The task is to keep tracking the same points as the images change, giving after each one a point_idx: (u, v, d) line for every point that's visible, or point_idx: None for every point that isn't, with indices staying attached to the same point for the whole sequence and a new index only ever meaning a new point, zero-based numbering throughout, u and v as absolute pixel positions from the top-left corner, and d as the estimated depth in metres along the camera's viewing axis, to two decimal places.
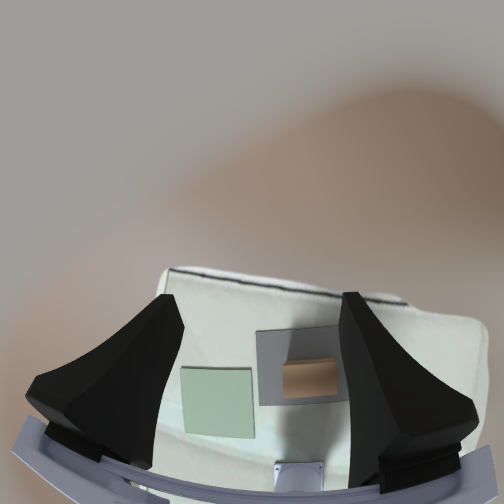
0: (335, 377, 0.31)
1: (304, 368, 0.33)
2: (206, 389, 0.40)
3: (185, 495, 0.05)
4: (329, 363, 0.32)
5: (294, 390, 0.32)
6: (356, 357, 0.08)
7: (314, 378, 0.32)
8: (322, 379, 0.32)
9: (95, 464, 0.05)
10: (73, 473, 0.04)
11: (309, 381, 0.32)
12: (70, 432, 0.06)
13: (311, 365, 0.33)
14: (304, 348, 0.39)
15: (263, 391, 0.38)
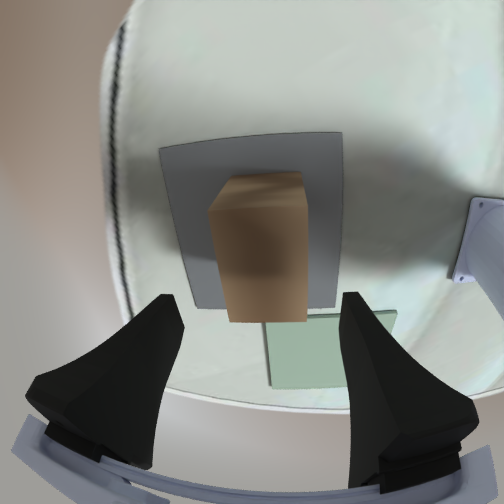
0: (254, 211, 0.12)
1: (230, 284, 0.14)
2: (303, 367, 0.27)
3: (185, 495, 0.05)
4: (213, 228, 0.13)
5: (289, 303, 0.15)
6: (356, 357, 0.08)
7: (257, 263, 0.14)
8: (258, 246, 0.13)
9: (95, 464, 0.05)
10: (73, 473, 0.04)
11: (266, 275, 0.14)
12: (70, 432, 0.06)
13: (222, 270, 0.14)
14: None
15: None
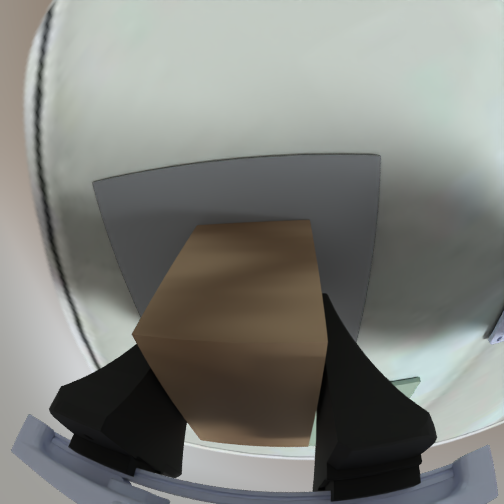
0: (217, 347, 0.06)
1: (192, 414, 0.08)
2: None
3: (185, 495, 0.05)
4: (149, 358, 0.06)
5: (283, 435, 0.08)
6: None
7: (232, 403, 0.07)
8: (231, 387, 0.07)
9: (95, 464, 0.05)
10: (73, 473, 0.04)
11: (247, 414, 0.07)
12: (99, 445, 0.05)
13: (177, 402, 0.08)
14: None
15: None
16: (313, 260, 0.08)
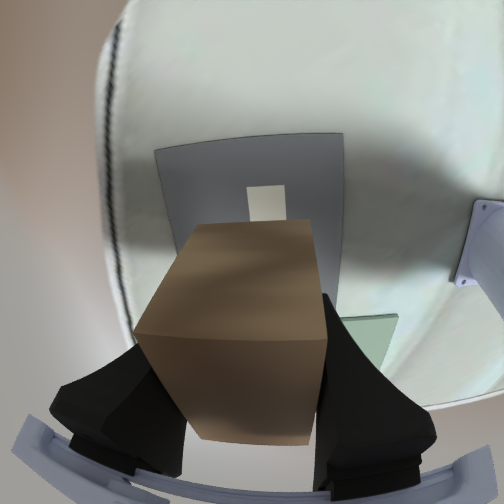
0: (217, 345, 0.06)
1: (193, 413, 0.08)
2: None
3: (185, 495, 0.05)
4: (150, 356, 0.06)
5: (283, 434, 0.08)
6: None
7: (232, 401, 0.07)
8: (231, 386, 0.07)
9: (95, 464, 0.05)
10: (73, 473, 0.04)
11: (247, 413, 0.07)
12: (99, 445, 0.05)
13: (177, 400, 0.08)
14: None
15: None
16: (313, 259, 0.08)
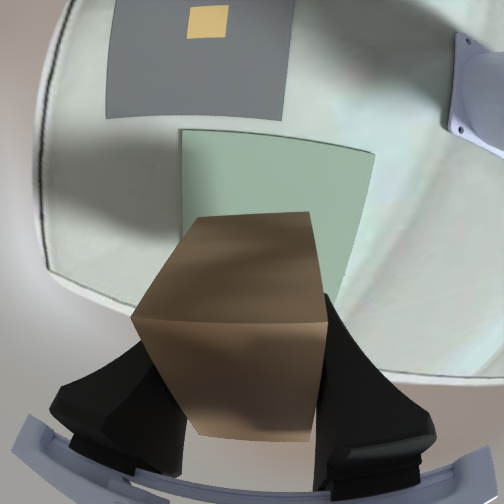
0: (216, 329, 0.06)
1: (190, 406, 0.08)
2: None
3: (185, 495, 0.05)
4: (147, 343, 0.06)
5: (283, 428, 0.08)
6: None
7: (231, 392, 0.07)
8: (229, 374, 0.07)
9: (95, 464, 0.05)
10: (73, 473, 0.04)
11: (246, 405, 0.07)
12: (99, 445, 0.05)
13: (175, 392, 0.08)
14: (150, 17, 0.12)
15: (241, 104, 0.15)
16: (312, 247, 0.08)
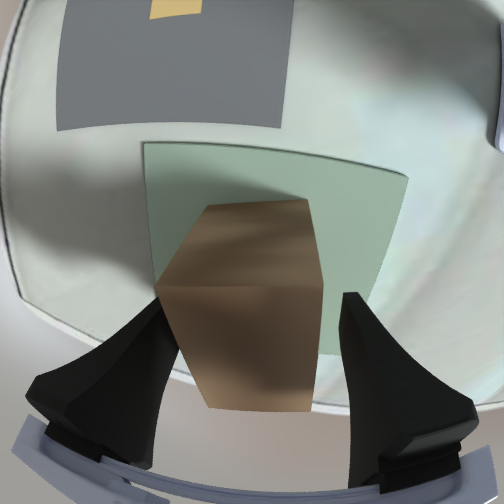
0: (230, 292, 0.07)
1: (203, 374, 0.09)
2: None
3: (185, 495, 0.05)
4: (168, 310, 0.08)
5: (287, 396, 0.10)
6: (356, 357, 0.08)
7: (240, 357, 0.08)
8: (240, 337, 0.08)
9: (95, 464, 0.05)
10: (73, 473, 0.04)
11: (254, 370, 0.09)
12: (70, 432, 0.06)
13: (189, 359, 0.09)
14: None
15: (223, 105, 0.10)
16: (310, 228, 0.09)
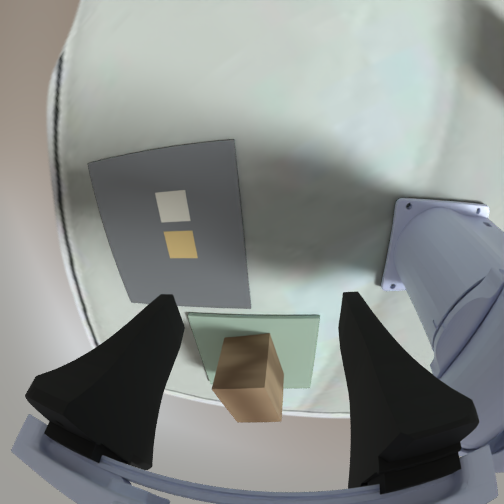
0: (236, 389, 0.20)
1: (232, 410, 0.22)
2: None
3: (185, 495, 0.05)
4: (217, 394, 0.21)
5: (268, 416, 0.22)
6: (356, 357, 0.08)
7: (245, 404, 0.21)
8: (243, 399, 0.21)
9: (95, 464, 0.05)
10: (73, 473, 0.04)
11: (251, 408, 0.22)
12: (70, 432, 0.06)
13: (226, 406, 0.22)
14: (135, 236, 0.21)
15: (222, 301, 0.24)
16: (266, 357, 0.22)
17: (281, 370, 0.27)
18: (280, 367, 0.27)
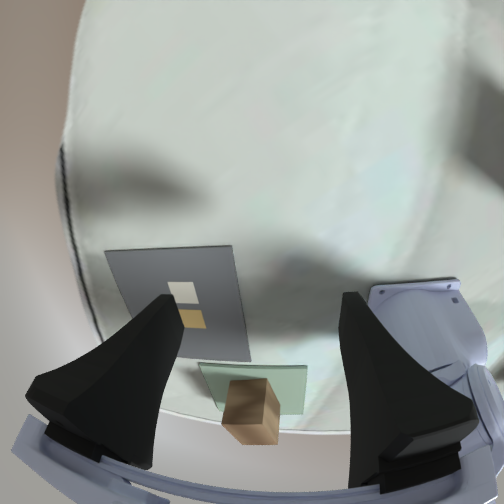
0: (240, 425, 0.24)
1: (238, 437, 0.27)
2: None
3: (185, 495, 0.05)
4: (225, 427, 0.25)
5: (266, 441, 0.26)
6: (356, 357, 0.08)
7: (247, 434, 0.26)
8: (246, 431, 0.25)
9: (95, 464, 0.05)
10: (73, 473, 0.04)
11: (253, 436, 0.26)
12: (70, 432, 0.06)
13: (233, 434, 0.26)
14: None
15: (227, 356, 0.28)
16: (264, 399, 0.26)
17: (277, 403, 0.31)
18: (277, 401, 0.31)
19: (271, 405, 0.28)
